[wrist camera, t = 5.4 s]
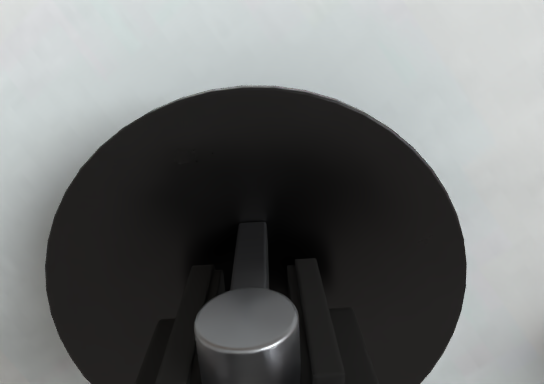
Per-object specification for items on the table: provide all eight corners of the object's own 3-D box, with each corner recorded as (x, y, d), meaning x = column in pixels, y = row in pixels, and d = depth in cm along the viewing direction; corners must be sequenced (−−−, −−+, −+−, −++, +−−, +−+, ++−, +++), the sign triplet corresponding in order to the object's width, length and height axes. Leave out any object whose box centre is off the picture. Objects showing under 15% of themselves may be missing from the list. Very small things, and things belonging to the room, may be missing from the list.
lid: (105, 433, 14) (1, 690, 8) (17, 96, 10) (-272, 159, 5) (434, 412, 14) (548, 654, 8) (468, 69, 10) (713, 98, 5)
